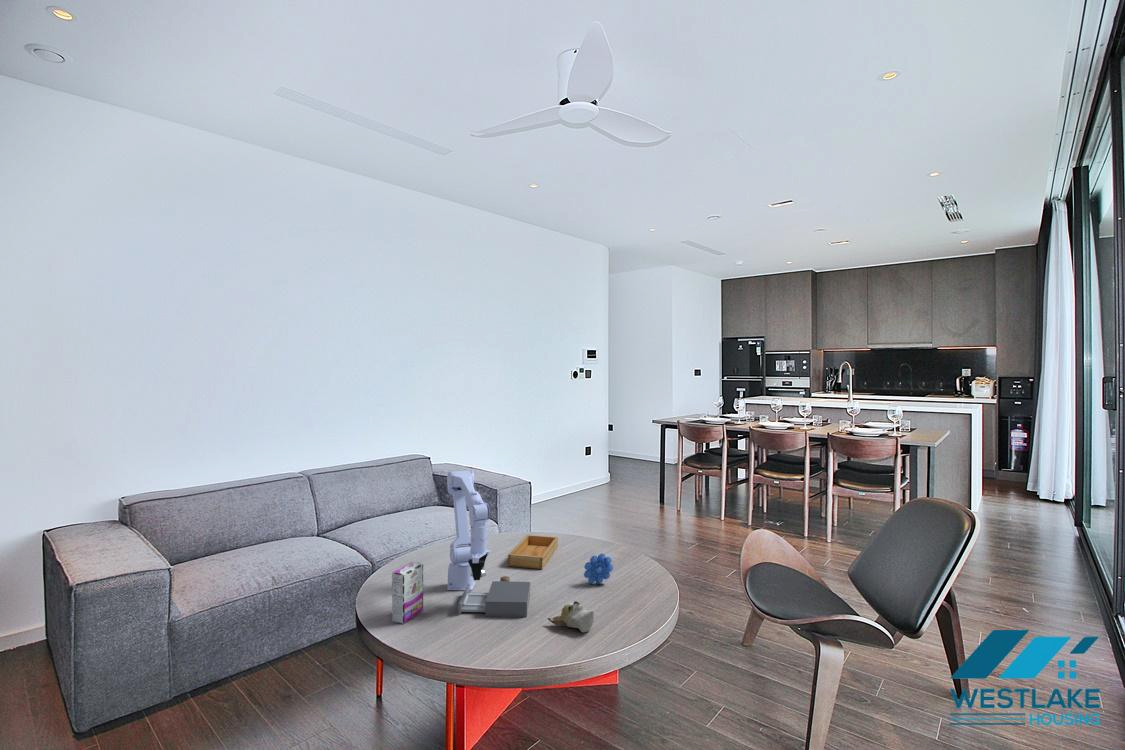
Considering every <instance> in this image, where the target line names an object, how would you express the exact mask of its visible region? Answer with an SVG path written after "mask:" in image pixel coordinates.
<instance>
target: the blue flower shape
mask: <svg viewBox="0 0 1125 750" xmlns="http://www.w3.org/2000/svg"><path fill="white" fill-rule="evenodd" d="M584 570H585V571H584V572H583V577H584V578H585V579H587V582H588V583H589V584H592V585H593V584H594V583H596V584H597V585H601V584H602V583H603V581H605V580H606V581H607V580H608V579H609V578H610V577H611V573H610V572H612V571H613V570H614V565H613V564H612V558H611V556H606V554H604V553H599V554H598V556H597V555H592V556H591V557H590V558H589V561H588V562H586V563H585V564H584Z"/></svg>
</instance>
